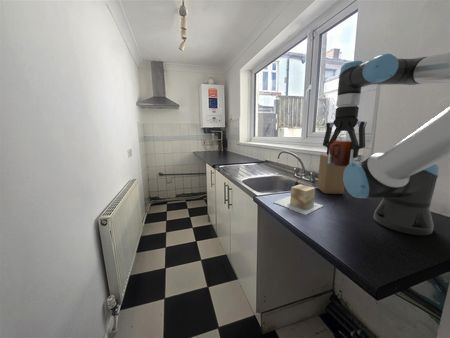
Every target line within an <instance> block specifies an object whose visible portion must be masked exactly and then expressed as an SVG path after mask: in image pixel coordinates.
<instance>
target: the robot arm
mask: <svg viewBox="0 0 450 338" xmlns="http://www.w3.org/2000/svg"><path fill="white" fill-rule="evenodd" d="M442 83H443V84H445V83H449V84H450V52H445V53H439V54H434V55H428V56H422V57H416V58H414V57H413V58H398V57H396V56H395V55H393V54H392V53H385V54H381V55H377V56H375V57H373V58H371V59H369V60H367V61H365V62H364V61H363V60H351V61H349V62H346V63H344V64H342V66H341V67H340V71H339V75H338V84H337V85H338V86H337V87H338V88H337V98H336V103H335V106H336V108H335V113H334V114H335V115H334V120H333V121H332V122H326V124H325V125H326V126H325V127H326V130H325V134H324V139H323V142H322V146H323V147H325V148H327V149H326V154H327V155H329V156H328V163H329V164H330V163H332V157H331V156H330V153H329V147H330V145H331V144H332V143H333V141H336V140H338V137H339V135H340V134H341V133H342V132H347V133H348V135H349V138H350V140H351V142H352V145H353V148H354V149H352V150H351V154H350V162H349V165H347V166H346V168H345V170H344V174H343V181H344V189H346V191H347V192H348V194H349V195H351V196H352V197H354V198H357V199H363V200H364V199H373V198H375V199H376V198H378V199H379V198H382V200H381V201H380V203H379V205H378V206H377V207H376V209H375V210H374V213H373V220H374V221H375V222H376V223H377V224H378V225H381V226H383V227H385V228H388V229H389V230H393V231H395V232H399V233H402V234H408V235H413V236H431V235H432V234H433V231H434V228H435V226H434V221H433V217H432V212H431V205H432V200H433V195H434V191H435V189H436V188H435V187H436V184H437V180H438V178H439V175H438V173H439V168H440V167H439V165H438V163H440V162H442V161H444V160H446V159H448V158H450V106H449V107H447V108H445V109H444V110H443V111H441V112H440V113H439V114H437V115H436V116H434V117H433V118H431V119H430V120H429V121H428V122H426V123H424V124H423V125H422V126H420V127H419V128H418V129H416V130H415V131H413V132H412V133H411V134H409V135H408V136H406V137H405V138H403V139H402V140H401V141H399V142H398V143H395V145H393V146H392V147H391V148H389V149H388V150H386V151H385V152H376V153H374V154H372V155H370V156H369V157H368V158H366V159H365V160H364V161H362V162H356V158H357V159H358V157H359V151H360V149H364V148H365V147H366V127H367V123H368V122H367V121H365V120H364V121H361V120H359V118H358V117H359V109H360V108H359V105H360V101H361V92H362V88H364V87H367V86H371V85H390V86H391V85H392V86H393V85H407V86H410V85H412V86H414V85H415V86H416V85H421V84H442ZM356 126H357V127H358V139H357V135H356V132H355V127H356ZM333 127H335V129H334V130H333ZM332 131H333V134H332ZM333 150H334V148H333Z"/></svg>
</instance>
